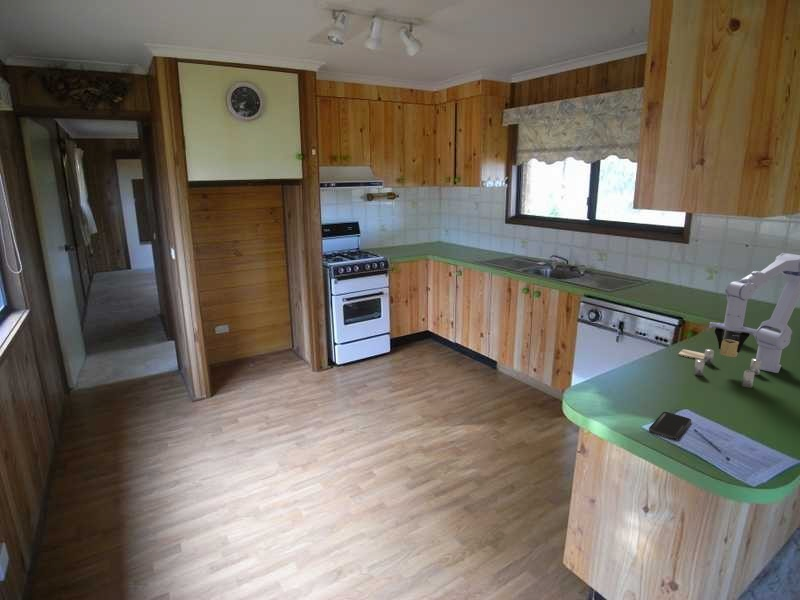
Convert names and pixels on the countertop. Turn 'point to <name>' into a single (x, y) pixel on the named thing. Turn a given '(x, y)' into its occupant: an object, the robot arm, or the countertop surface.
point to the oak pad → (691, 354)
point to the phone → (670, 425)
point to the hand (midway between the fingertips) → (729, 349)
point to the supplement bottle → (732, 335)
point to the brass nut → (729, 348)
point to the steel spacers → (748, 374)
